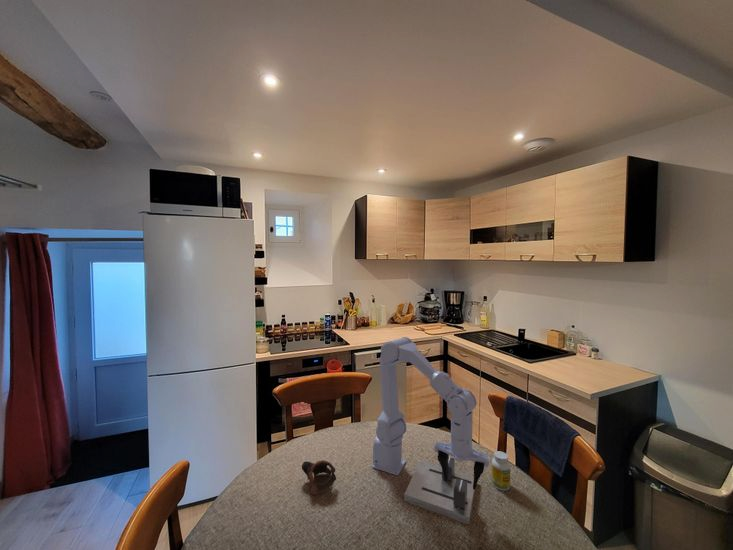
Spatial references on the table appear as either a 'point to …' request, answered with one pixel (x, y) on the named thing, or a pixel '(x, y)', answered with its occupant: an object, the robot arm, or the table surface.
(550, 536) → the table surface
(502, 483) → the supplement bottle
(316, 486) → the pottery mug
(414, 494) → the fader panel
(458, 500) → the block
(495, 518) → the table surface
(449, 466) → the far fader
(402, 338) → the robot arm
